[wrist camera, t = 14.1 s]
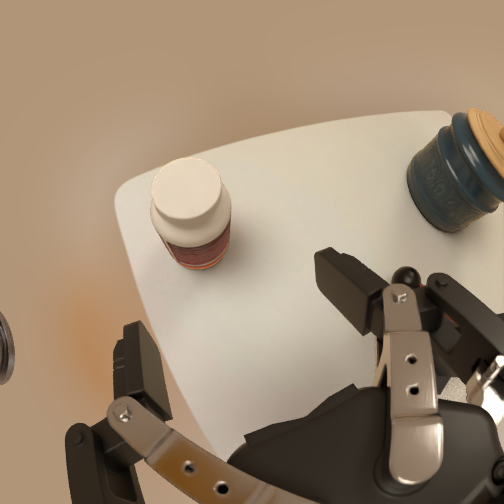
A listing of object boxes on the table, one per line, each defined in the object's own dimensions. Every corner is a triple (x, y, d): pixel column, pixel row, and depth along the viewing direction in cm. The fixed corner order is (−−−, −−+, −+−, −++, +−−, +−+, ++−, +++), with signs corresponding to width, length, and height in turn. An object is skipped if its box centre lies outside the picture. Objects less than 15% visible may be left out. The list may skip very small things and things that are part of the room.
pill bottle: (240, 235, 28) (253, 178, 18) (203, 283, 26) (192, 251, 16) (193, 201, 29) (183, 135, 18) (155, 246, 27) (121, 196, 16)
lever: (383, 293, 26) (388, 277, 23) (398, 272, 27) (403, 254, 24) (495, 371, 16) (511, 362, 14) (506, 345, 17) (521, 333, 15)
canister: (472, 232, 33) (552, 186, 16) (421, 237, 31) (522, 176, 14) (446, 160, 36) (508, 102, 19) (392, 153, 34) (461, 72, 17)
